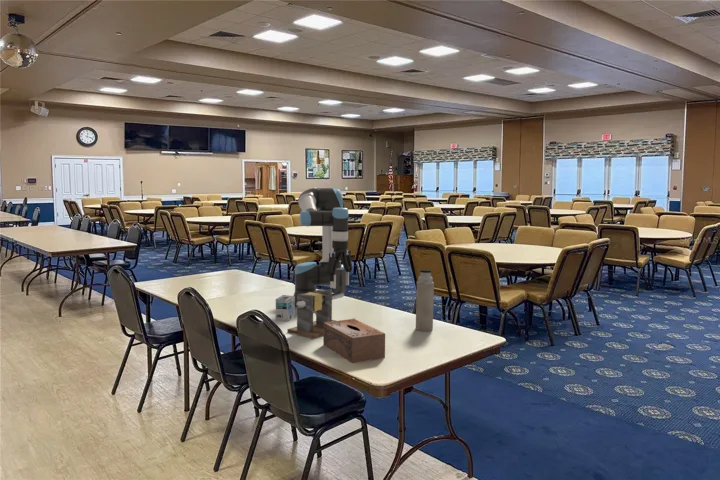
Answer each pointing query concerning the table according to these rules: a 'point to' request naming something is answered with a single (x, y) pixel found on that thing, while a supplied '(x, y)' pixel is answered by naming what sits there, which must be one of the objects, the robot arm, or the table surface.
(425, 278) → the thermos bottle
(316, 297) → the block
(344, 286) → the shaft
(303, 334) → the shaft stand
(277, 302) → the light bulb box
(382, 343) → the tissue box cover
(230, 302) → the table surface
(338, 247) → the robot arm
